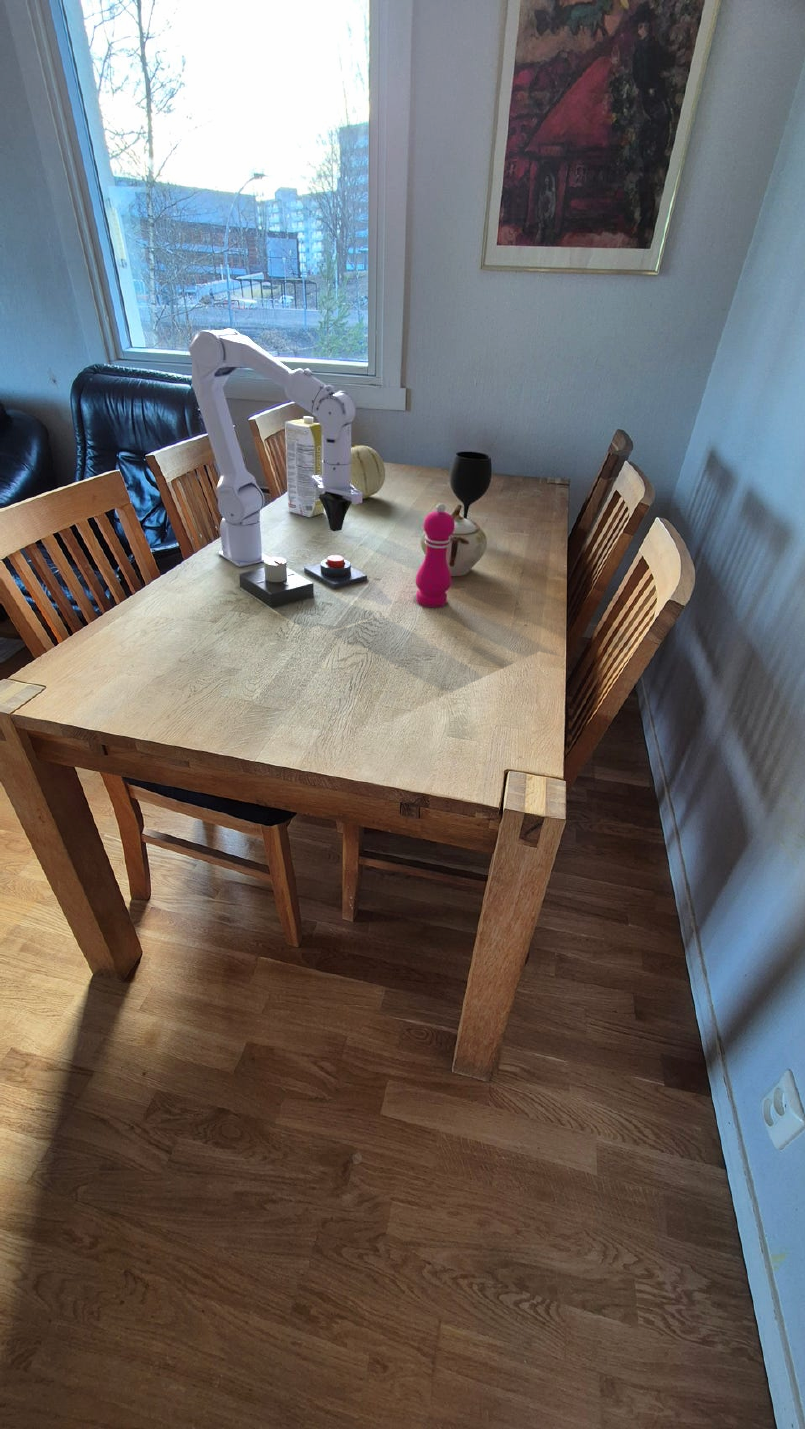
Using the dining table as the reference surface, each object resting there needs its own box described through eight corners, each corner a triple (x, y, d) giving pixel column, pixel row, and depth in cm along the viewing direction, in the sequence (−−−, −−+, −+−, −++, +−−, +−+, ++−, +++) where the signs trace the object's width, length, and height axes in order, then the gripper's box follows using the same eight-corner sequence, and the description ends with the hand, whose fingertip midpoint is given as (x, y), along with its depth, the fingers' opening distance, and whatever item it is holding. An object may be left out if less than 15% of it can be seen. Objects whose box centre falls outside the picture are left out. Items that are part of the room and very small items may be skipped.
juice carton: (328, 512, 171) (328, 418, 157) (310, 519, 165) (308, 422, 151) (302, 505, 174) (300, 412, 161) (283, 511, 169) (279, 416, 155)
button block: (304, 572, 135) (303, 559, 134) (336, 564, 141) (336, 551, 139) (334, 589, 129) (334, 576, 127) (367, 580, 134) (367, 567, 133)
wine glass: (438, 537, 160) (446, 456, 149) (450, 526, 168) (459, 448, 157) (476, 544, 158) (487, 463, 146) (486, 533, 166) (498, 454, 154)
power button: (323, 563, 133) (323, 557, 132) (337, 560, 135) (337, 553, 135) (333, 569, 131) (333, 562, 130) (347, 565, 133) (347, 559, 132)
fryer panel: (240, 587, 127) (238, 572, 125) (281, 577, 133) (280, 563, 131) (271, 608, 120) (270, 593, 118) (313, 596, 126) (313, 582, 124)
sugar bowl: (483, 589, 135) (494, 521, 126) (415, 583, 135) (421, 514, 126) (481, 557, 151) (490, 494, 142) (420, 551, 151) (426, 488, 142)
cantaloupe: (383, 506, 179) (385, 452, 170) (332, 502, 178) (332, 447, 170) (384, 492, 191) (387, 440, 182) (337, 488, 190) (338, 436, 182)
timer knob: (260, 576, 124) (259, 558, 122) (279, 572, 127) (278, 554, 125) (272, 584, 122) (271, 565, 120) (291, 579, 124) (290, 560, 122)
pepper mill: (452, 597, 130) (464, 502, 118) (443, 611, 124) (454, 512, 113) (419, 591, 131) (428, 496, 120) (409, 604, 126) (417, 505, 114)
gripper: (298, 455, 123) (300, 523, 131) (342, 472, 115) (341, 543, 122) (326, 452, 127) (327, 517, 135) (371, 468, 119) (369, 537, 126)
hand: (335, 529), depth 129 cm, fingers closed
